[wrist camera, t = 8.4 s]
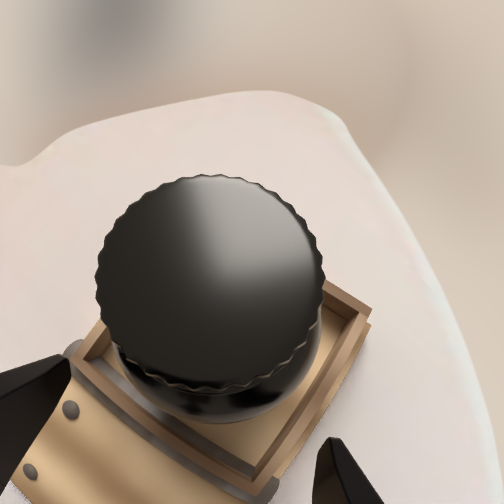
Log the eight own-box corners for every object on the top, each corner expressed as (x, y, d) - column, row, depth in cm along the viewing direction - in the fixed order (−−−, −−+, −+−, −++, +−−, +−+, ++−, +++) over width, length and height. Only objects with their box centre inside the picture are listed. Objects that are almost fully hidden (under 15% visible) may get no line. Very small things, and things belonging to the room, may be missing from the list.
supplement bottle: (286, 403, 16) (395, 423, 5) (163, 409, 15) (45, 438, 4) (274, 289, 18) (334, 142, 8) (160, 294, 18) (78, 155, 7)
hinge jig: (167, 588, 9) (159, 611, 7) (10, 467, 12) (-16, 471, 9) (363, 329, 19) (385, 317, 16) (190, 220, 21) (185, 193, 19)
